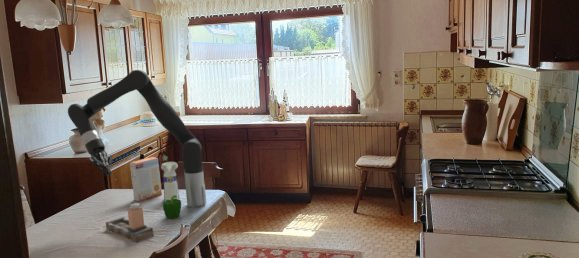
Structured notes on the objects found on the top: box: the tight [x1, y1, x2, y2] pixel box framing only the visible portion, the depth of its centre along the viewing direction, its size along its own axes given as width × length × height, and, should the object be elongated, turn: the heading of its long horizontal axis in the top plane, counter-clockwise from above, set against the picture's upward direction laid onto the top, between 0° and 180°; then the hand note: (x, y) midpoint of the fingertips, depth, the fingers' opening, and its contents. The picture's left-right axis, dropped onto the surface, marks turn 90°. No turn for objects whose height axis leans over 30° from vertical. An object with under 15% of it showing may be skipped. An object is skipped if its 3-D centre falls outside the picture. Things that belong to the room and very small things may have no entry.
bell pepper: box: [162, 195, 182, 220], centre depth 209 cm, size 8×8×10 cm
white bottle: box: [160, 154, 180, 202], centre depth 235 cm, size 8×9×25 cm
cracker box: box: [129, 156, 163, 202], centre depth 240 cm, size 14×6×21 cm, turn 141°
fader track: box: [105, 216, 154, 243], centre depth 193 cm, size 24×8×4 cm, turn 50°
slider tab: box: [127, 202, 147, 233], centre depth 187 cm, size 5×6×12 cm
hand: (108, 174), depth 202 cm, fingers closed
